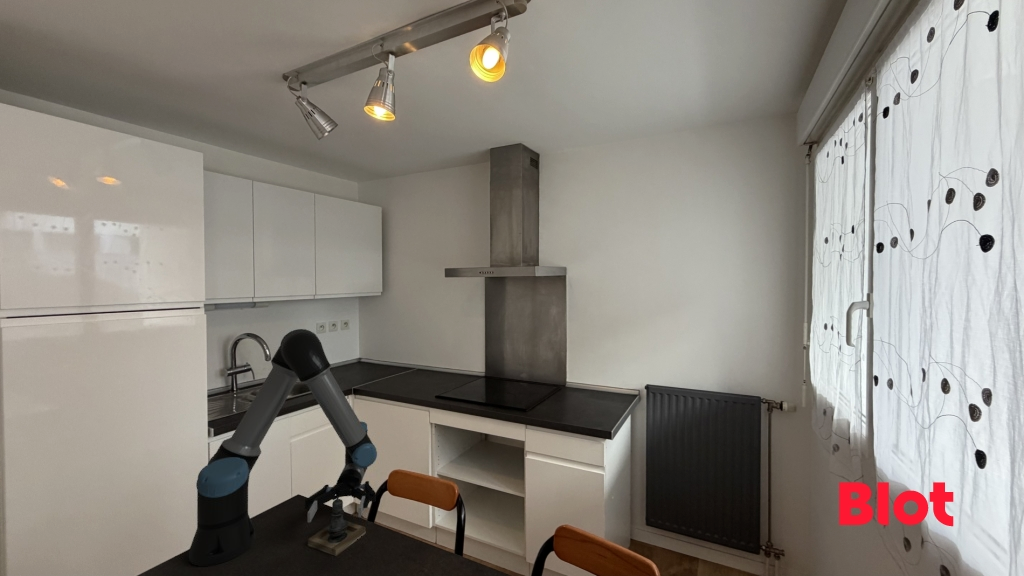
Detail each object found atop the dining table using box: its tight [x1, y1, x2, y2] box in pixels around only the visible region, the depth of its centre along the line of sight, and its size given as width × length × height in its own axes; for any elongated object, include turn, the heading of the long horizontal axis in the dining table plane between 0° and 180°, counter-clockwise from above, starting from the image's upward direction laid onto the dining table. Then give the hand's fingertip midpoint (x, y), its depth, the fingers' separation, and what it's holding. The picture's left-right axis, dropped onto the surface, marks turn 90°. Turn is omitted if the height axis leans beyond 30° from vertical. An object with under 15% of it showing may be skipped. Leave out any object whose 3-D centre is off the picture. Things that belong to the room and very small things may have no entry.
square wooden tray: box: [307, 521, 367, 557], centre depth 115 cm, size 11×11×2 cm
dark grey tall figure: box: [326, 497, 349, 543], centre depth 115 cm, size 6×6×12 cm
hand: (334, 515), depth 112 cm, fingers open, 13 cm apart
